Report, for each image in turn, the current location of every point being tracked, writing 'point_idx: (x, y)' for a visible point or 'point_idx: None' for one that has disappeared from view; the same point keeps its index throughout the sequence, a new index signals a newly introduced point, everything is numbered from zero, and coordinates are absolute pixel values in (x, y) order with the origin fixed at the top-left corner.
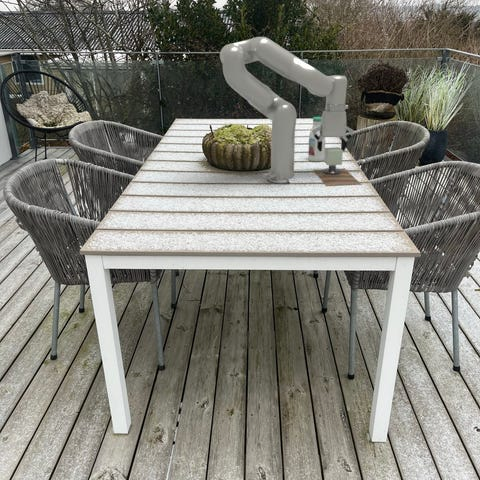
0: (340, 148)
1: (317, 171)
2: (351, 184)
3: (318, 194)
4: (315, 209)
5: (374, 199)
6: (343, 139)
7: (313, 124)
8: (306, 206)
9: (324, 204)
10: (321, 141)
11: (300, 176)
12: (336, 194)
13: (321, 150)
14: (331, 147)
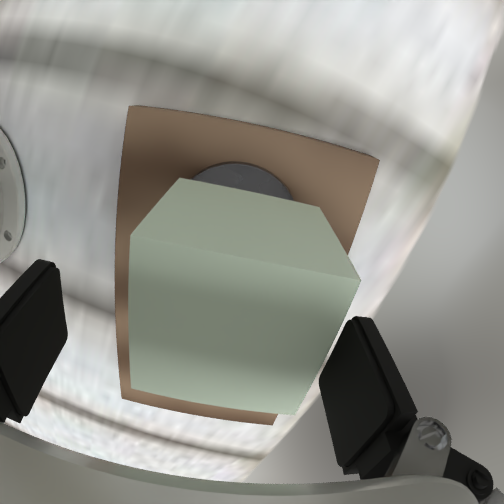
0: (328, 350)
1: (144, 159)
2: (231, 417)
3: (93, 403)
4: (80, 452)
5: (247, 468)
6: (376, 467)
7: None
8: (60, 436)
9: (102, 448)
10: (11, 408)
11: (49, 157)
12: (151, 424)
13: (63, 341)
14: (242, 258)
